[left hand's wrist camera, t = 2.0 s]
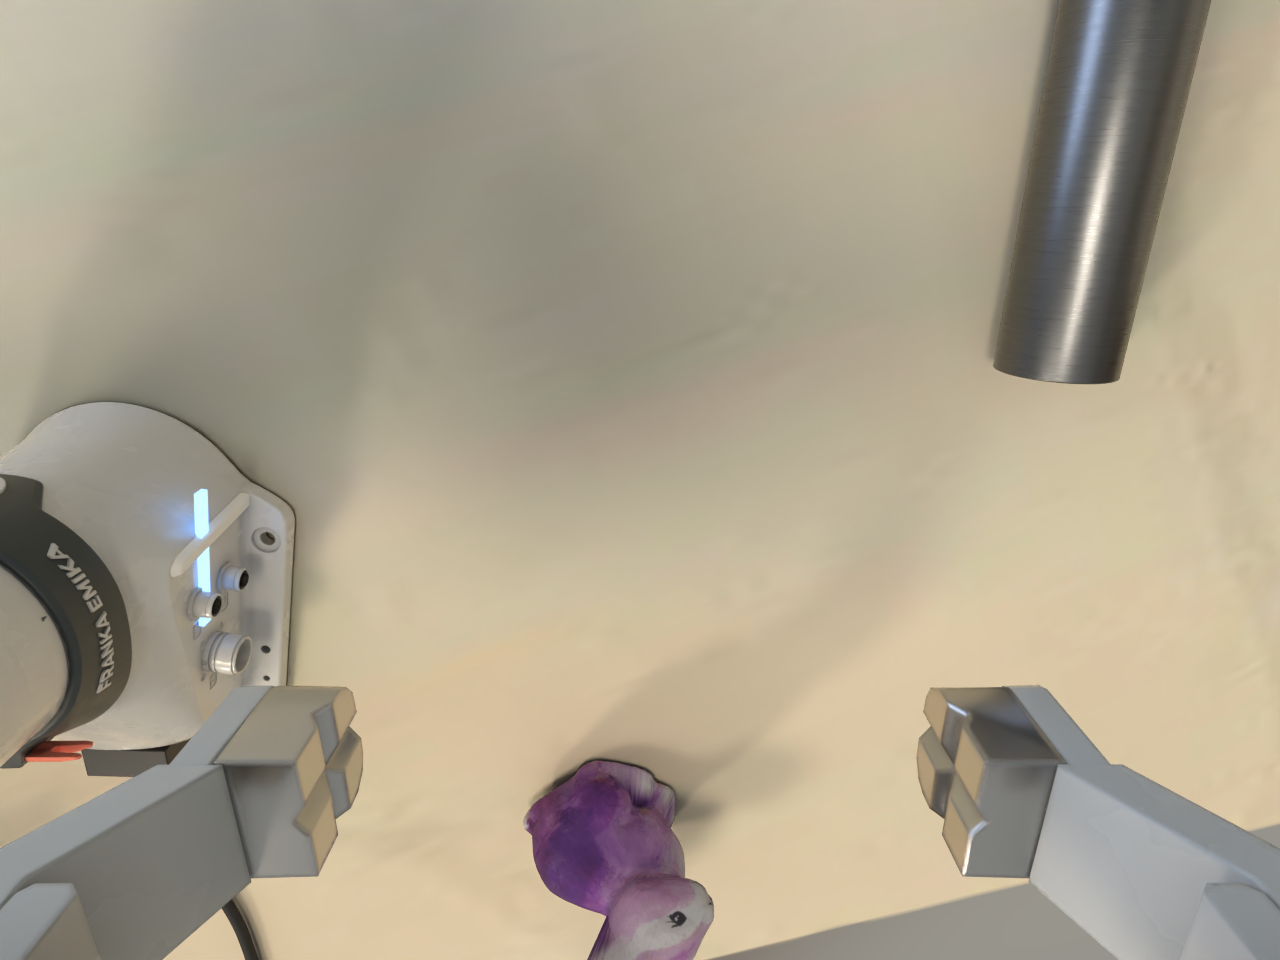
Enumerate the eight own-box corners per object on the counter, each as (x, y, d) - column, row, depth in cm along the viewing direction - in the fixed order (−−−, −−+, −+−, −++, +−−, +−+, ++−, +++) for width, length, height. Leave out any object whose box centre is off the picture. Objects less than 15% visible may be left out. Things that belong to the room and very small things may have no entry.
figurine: (711, 798, 53) (743, 1010, 39) (608, 872, 56) (603, 1098, 41) (622, 720, 51) (621, 917, 37) (518, 801, 53) (479, 1016, 39)
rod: (1077, 361, 43) (1146, 384, 37) (974, 360, 43) (1027, 384, 37) (1208, -235, 33) (1327, -325, 28) (1076, -239, 33) (1169, -330, 28)
